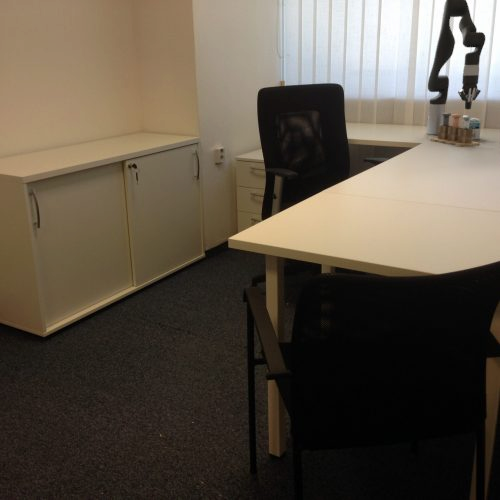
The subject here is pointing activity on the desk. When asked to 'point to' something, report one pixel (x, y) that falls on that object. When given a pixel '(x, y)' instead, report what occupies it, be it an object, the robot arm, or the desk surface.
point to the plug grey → (466, 122)
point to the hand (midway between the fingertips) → (467, 109)
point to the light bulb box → (475, 127)
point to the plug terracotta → (456, 120)
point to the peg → (446, 119)
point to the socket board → (455, 136)
